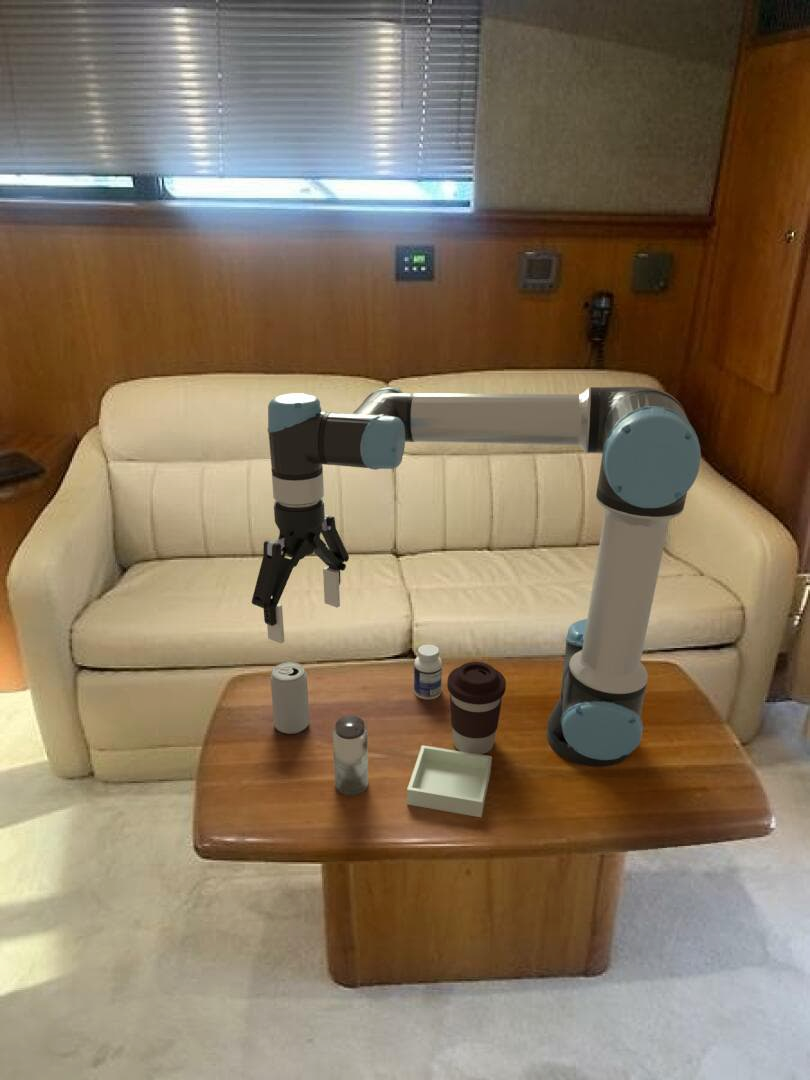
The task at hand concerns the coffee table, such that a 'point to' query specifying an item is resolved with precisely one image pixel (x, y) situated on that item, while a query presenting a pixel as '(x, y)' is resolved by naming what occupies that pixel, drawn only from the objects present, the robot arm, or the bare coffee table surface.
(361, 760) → the shaker
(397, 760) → the coffee table surface
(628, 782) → the coffee table surface
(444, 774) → the tray
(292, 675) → the beverage can
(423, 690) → the pill bottle
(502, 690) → the coffee cup
